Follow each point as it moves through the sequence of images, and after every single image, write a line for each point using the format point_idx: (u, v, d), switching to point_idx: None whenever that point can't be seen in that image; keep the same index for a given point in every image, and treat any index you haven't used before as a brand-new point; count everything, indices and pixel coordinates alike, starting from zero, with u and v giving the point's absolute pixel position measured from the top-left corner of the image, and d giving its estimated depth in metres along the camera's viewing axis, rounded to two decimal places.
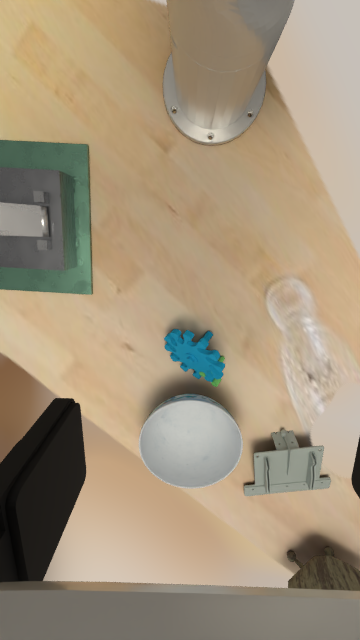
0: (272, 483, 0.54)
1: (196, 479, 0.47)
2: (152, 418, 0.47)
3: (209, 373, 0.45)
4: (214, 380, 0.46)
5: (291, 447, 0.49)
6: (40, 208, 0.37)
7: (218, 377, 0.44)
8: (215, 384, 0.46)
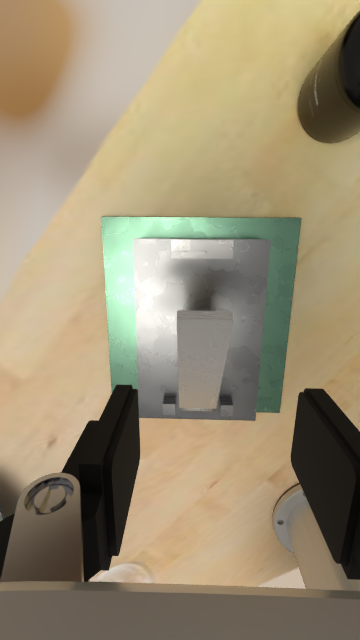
0: None
1: None
2: None
3: None
4: None
5: None
6: (212, 408, 0.30)
7: None
8: None
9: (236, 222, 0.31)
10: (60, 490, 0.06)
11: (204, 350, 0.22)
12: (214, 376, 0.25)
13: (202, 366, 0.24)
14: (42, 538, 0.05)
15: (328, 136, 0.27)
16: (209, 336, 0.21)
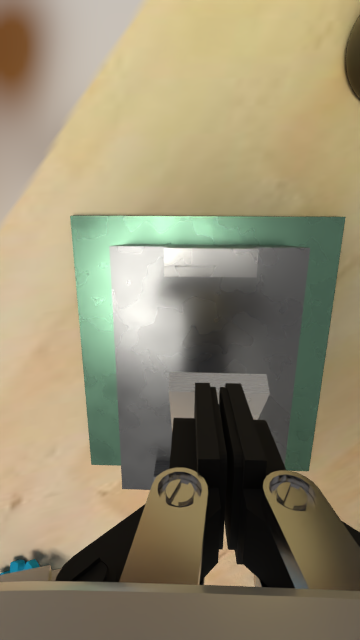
0: None
1: None
2: None
3: None
4: None
5: None
6: None
7: None
8: None
9: (255, 223, 0.22)
10: (189, 487, 0.07)
11: None
12: None
13: None
14: (167, 530, 0.06)
15: None
16: None
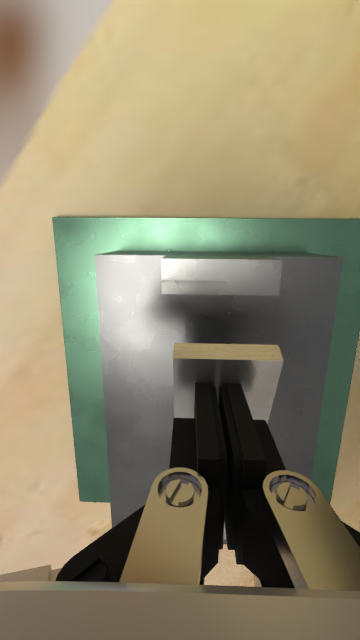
0: None
1: None
2: None
3: None
4: None
5: None
6: None
7: None
8: None
9: (271, 226, 0.19)
10: (189, 487, 0.07)
11: None
12: None
13: None
14: (167, 530, 0.06)
15: None
16: None
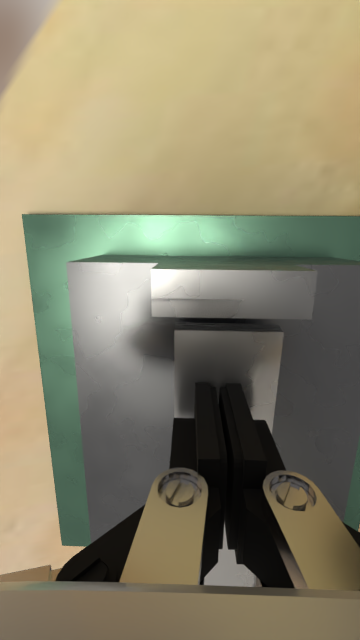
0: None
1: None
2: None
3: None
4: None
5: None
6: None
7: None
8: None
9: (289, 225, 0.15)
10: (189, 487, 0.07)
11: None
12: None
13: None
14: (167, 529, 0.06)
15: None
16: (237, 378, 0.11)
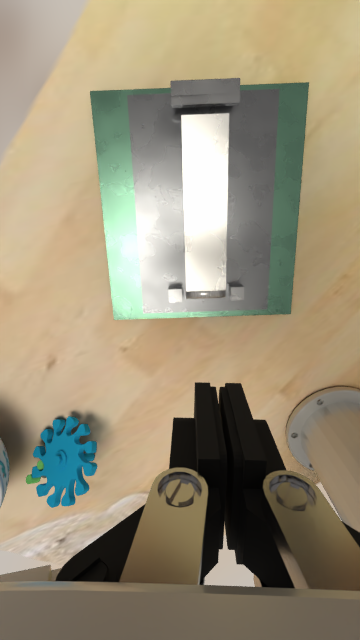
0: None
1: None
2: None
3: (42, 474, 0.38)
4: (34, 478, 0.38)
5: None
6: (222, 290, 0.28)
7: (39, 493, 0.37)
8: (29, 481, 0.38)
9: None
10: (189, 487, 0.07)
11: (207, 165, 0.24)
12: (219, 215, 0.26)
13: (206, 196, 0.25)
14: (167, 530, 0.06)
15: None
16: (210, 140, 0.24)
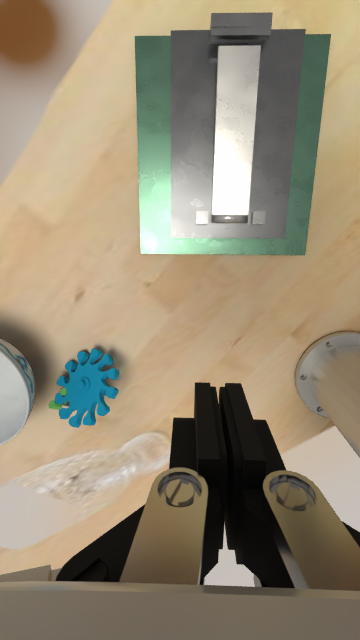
0: None
1: None
2: None
3: (65, 400, 0.40)
4: (56, 404, 0.41)
5: None
6: (245, 214, 0.31)
7: (61, 415, 0.39)
8: (51, 406, 0.40)
9: None
10: (189, 487, 0.07)
11: (238, 93, 0.27)
12: (246, 141, 0.29)
13: (236, 123, 0.28)
14: (167, 530, 0.06)
15: None
16: (242, 70, 0.27)
